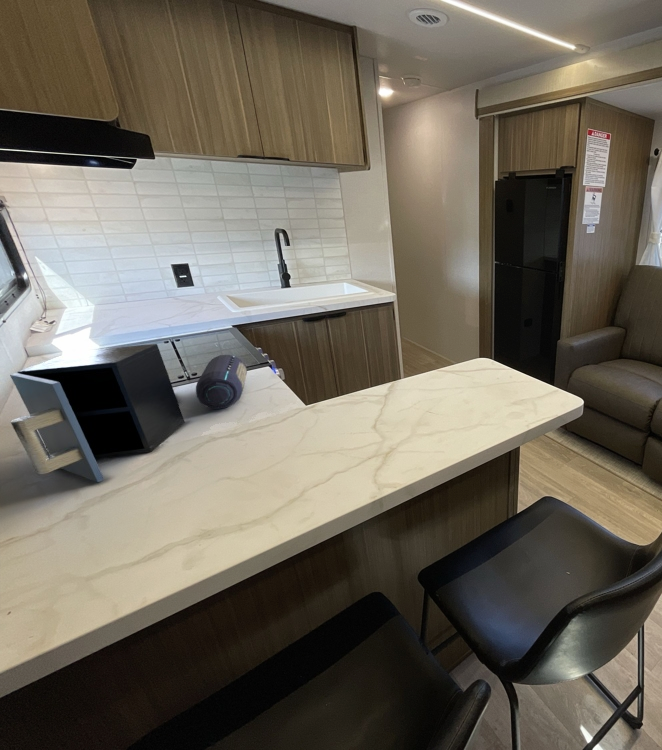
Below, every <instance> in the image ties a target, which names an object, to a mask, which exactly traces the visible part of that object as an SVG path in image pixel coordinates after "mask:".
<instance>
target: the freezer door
mask: <svg viewBox="0 0 662 750" xmlns="http://www.w3.org/2000/svg"><path fill="white" fill-rule="evenodd" d="M10 378H11V380H12V382H13V385H14V386H15V388H16V390H17V392H18V394H19V397H20V398H21V401H22V402H23V404H24V405H25V408H26V411H27V412H28V415H24V416H21V417H18V418H15V419H12V420H11V421H10V424H11V426H12V428H13V430H14V432H15V434H16V436H17V438H18V439H19V441H20V443H21V445H22V447H23V449H24V451H25V453H26V455H27V456H28V458H29V460H30V462H31V464H32V466H33V468H34V470H35V472H36V474H38V475H45V474H49V473H51V472H53V471H56V470H58V469H62V470H64V471H67V472H69V473H72V474H75V475H77V476H80V477H82V478H86V479H87V480H91V481H93V482H96V483H101V482H102V481H104V480H105V477H104V475H103V473H102V471H101V469H100V467H99V465H98V462H97V461H96V460H97V459H95V458H94V456H93V454H92V452H91V449H90V447H89V445H88V443H87V441H86V439H85V436H84V434H83V432H82V430H81V428H80V426H79V423H78V421H77V419H76V417H75V415H74V413H73V410H72V408H71V406H70V404H69V402H68V400H67V397H66V395H65V393H64V391H63V389H62V387H61V384H60V382H56V381H52V380H47V379H42V378H38V377H33V376H28V375H23V374H19V373H17V372H16V373H12V374H10Z"/></svg>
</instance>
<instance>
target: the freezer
mask: <svg viewBox="0 0 662 750" xmlns="http://www.w3.org/2000/svg"><path fill="white" fill-rule="evenodd" d="M167 372H168V370H167V368H166V364H165V362H164V360H163V357H162V354H161V351H160V349H159V346H158V343H150V344H139V345H128V346H118V347H116V346H115V347H108V348H107V347H106V348H94V349H85V350H73V351H71V352H69V353H66V354H63V355H60V356H58V357H55V358H52V359H49V360H47V361H43V362H40V363H38V364H35V365H33V366H29V367H27V368H24V369H22V370H18V371H17V372H16V373H19V374H23V375H28V376H33V377H38V378H42V379H47V380H52V381H56V382H60V384H61V387H62V389H63V391H64V393H65V395H66V397H67V400H68V402H69V404H70V406H71V408H72V410H73V413H74V415H75V417H76V419H77V421H78V423H79V426H80V428H81V430H82V432H83V434H84V436H85V439H86V441H87V443H88V445H89V447H90V449H91V452H92V454H93V456H94V458H95V460H100V459H108V458H109V459H110V458H116V457H122V456H124V457H125V456H131V455H139V454H146V453H152V452H153V451H155V450H156V449H157V448H158V447H159V446H161V444H162V443H164V442H165V441H166V440H168V438H169V437H170V436H172V435H174V433H175V432H176V431H178V430H179V429H180V428H181V427H182V426H183V425H184V424H186V422H185V418H184V415H183V412H182V410H181V407H180V404H179V402H178V399H177V396H176V393H175V391H174V387H173V385H172V384H173V383H172V382H171V379H170V376H168V375H169V372H168V373H167Z"/></svg>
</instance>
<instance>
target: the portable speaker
mask: <svg viewBox="0 0 662 750" xmlns="http://www.w3.org/2000/svg"><path fill="white" fill-rule="evenodd" d="M247 374H248V370H247V365H246V364H245V362H244V361H243V360H242V359H241V358H240V357H238V356H237V355H232V354H220V355H218V356H215V357H213V358H211V360H210V361H209V362H208V363H207V364H206V366H205V368H204V370H203V371H202V374H201V375H200V377H199V379H198V380H197V383H196V385H195V396H196V398H197V400H198V401H199V403H200V404H202V406H205V407H206V408H210V409H212V410H213V409H214V410H219V409H226V408H229V407H231V406H233V405H235V404H236V403H238V401H239V400H240V399H241V397H242V394H243V390H244V386H245V382H246V378H247Z"/></svg>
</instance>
